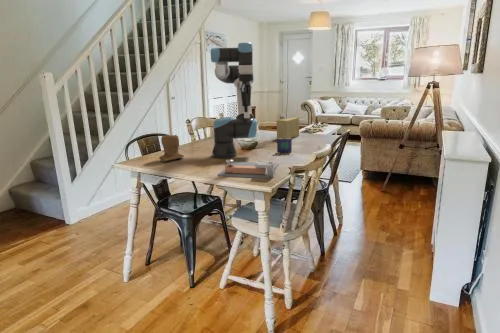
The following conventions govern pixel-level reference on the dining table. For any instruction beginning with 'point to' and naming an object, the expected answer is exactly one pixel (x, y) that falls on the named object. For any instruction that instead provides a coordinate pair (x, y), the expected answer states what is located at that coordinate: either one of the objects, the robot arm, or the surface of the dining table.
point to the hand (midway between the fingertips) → (246, 117)
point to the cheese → (288, 127)
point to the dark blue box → (284, 145)
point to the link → (244, 169)
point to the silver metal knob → (229, 162)
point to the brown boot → (170, 148)
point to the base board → (245, 173)
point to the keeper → (269, 165)
